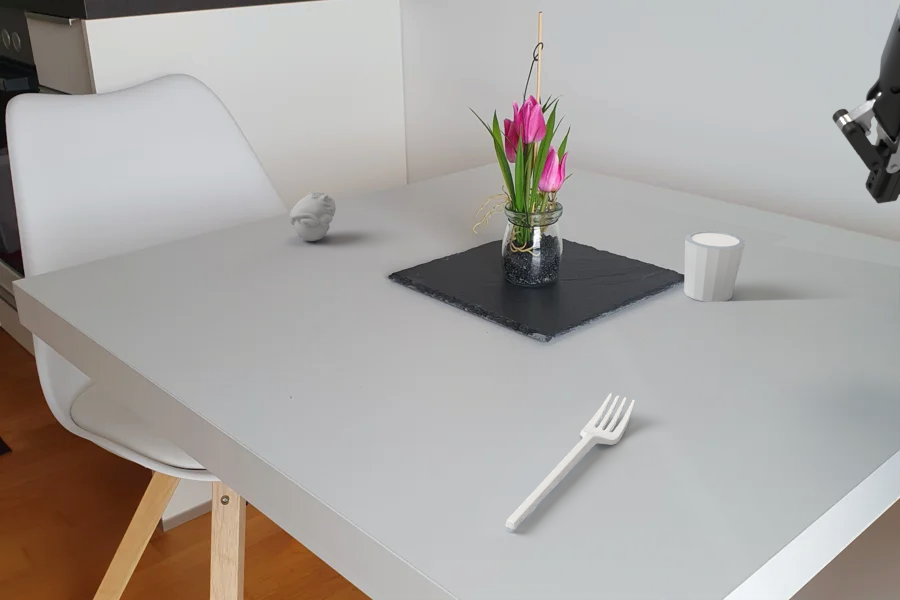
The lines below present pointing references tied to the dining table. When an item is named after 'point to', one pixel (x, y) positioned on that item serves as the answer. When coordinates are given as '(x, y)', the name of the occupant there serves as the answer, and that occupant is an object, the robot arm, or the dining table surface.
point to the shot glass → (711, 265)
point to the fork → (577, 454)
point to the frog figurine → (313, 215)
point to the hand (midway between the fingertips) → (880, 196)
